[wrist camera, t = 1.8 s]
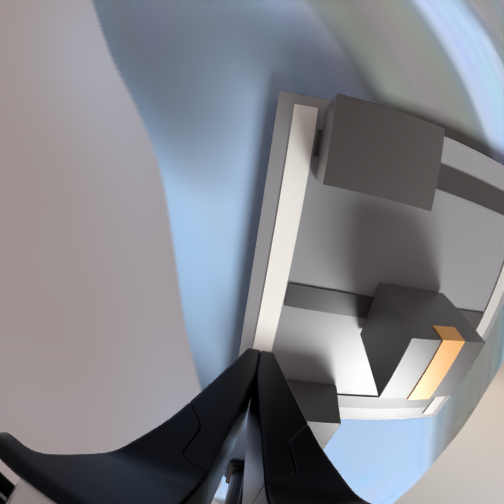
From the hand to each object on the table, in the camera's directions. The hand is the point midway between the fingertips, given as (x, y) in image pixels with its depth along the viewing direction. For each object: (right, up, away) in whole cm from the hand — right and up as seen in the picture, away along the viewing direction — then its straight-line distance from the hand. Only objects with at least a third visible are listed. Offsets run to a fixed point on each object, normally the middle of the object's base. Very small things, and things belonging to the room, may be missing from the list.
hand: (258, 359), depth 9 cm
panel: (+8, +1, +5) cm, 9 cm away
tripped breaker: (+8, 0, +4) cm, 8 cm away
